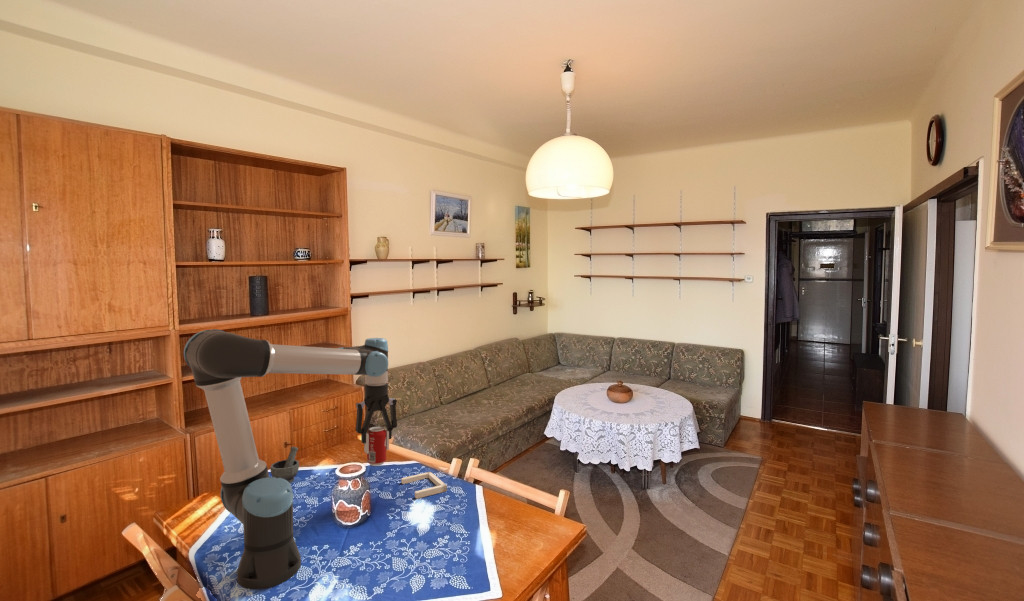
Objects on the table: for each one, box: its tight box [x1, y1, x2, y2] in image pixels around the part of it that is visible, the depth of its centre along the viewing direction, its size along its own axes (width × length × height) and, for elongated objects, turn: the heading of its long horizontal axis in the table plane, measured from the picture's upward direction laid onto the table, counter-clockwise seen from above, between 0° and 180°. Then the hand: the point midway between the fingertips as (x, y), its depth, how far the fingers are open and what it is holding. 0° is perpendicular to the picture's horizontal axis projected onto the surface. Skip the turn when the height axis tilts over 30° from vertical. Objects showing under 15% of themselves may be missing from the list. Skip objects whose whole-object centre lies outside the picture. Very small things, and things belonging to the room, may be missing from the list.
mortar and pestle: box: [269, 446, 300, 484], centre depth 181 cm, size 11×9×12 cm
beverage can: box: [366, 426, 387, 467], centre depth 166 cm, size 6×6×12 cm
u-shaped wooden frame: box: [400, 471, 448, 500], centre depth 176 cm, size 15×12×2 cm
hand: (376, 450), depth 166 cm, fingers closed on beverage can, 6 cm apart
